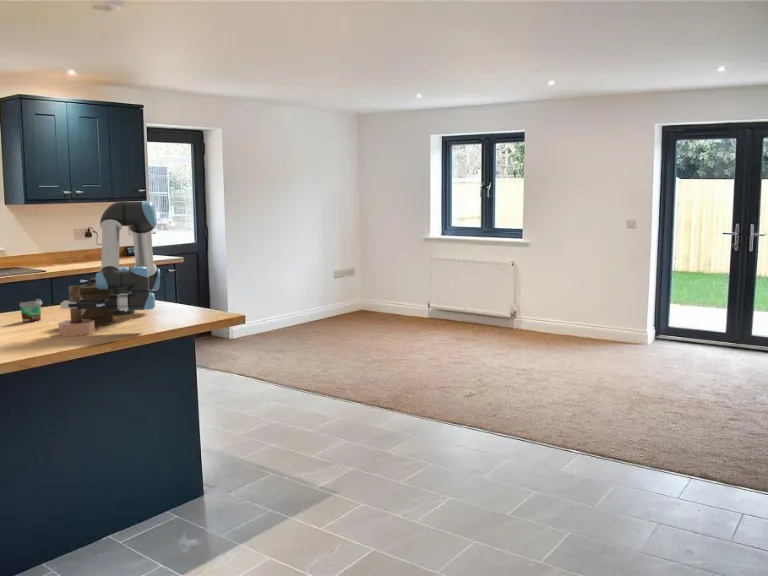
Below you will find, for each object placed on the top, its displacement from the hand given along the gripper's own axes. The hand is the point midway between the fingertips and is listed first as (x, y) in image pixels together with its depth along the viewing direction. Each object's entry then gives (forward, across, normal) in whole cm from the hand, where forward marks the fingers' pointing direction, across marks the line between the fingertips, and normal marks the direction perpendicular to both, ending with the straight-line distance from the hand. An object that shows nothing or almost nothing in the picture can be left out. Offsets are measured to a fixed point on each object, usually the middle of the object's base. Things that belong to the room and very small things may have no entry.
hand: (62, 304), depth 312 cm
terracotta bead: (-5, 0, -13) cm, 14 cm away
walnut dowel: (-5, 0, -10) cm, 11 cm away
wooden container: (-10, +22, -13) cm, 28 cm away
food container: (+20, +36, -13) cm, 44 cm away
